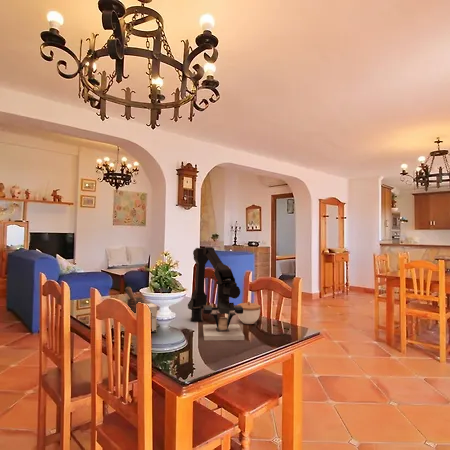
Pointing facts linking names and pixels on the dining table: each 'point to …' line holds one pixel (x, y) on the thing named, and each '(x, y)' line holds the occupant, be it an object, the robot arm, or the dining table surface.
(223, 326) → the maple spool
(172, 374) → the dining table surface
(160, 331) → the dining table surface
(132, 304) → the mortar and pestle
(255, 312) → the lidded bowl
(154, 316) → the supplement box
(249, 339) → the dining table surface
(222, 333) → the socket block
